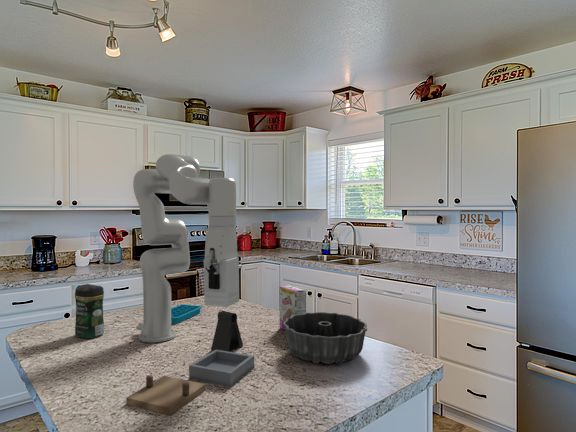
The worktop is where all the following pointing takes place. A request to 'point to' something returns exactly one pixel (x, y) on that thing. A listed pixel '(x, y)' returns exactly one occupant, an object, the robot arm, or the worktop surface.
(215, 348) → the phone stand
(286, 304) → the candy bar box
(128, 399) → the peg stand
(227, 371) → the tray
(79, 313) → the coffee jar
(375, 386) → the worktop surface
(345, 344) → the bundt pan
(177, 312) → the ice cube tray
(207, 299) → the supplement box
